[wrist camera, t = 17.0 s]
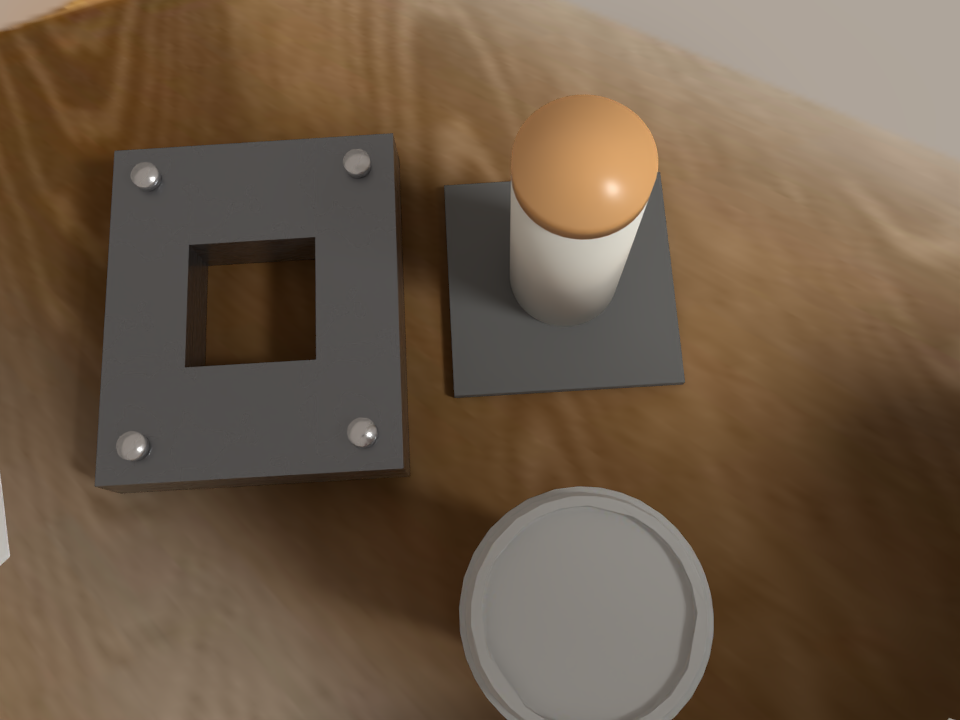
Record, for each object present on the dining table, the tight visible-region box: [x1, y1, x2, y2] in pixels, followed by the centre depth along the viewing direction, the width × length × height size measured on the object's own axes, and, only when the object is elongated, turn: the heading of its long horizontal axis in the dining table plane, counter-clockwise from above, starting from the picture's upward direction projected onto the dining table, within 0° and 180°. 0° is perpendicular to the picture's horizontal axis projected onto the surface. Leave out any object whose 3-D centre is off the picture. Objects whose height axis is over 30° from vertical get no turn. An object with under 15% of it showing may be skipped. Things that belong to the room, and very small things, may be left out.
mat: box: [444, 172, 685, 398], centre depth 47 cm, size 12×12×1 cm
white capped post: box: [510, 95, 658, 327], centre depth 41 cm, size 6×6×13 cm
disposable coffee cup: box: [459, 486, 714, 720], centre depth 38 cm, size 10×10×12 cm
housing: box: [95, 133, 410, 493], centre depth 46 cm, size 15×18×4 cm
